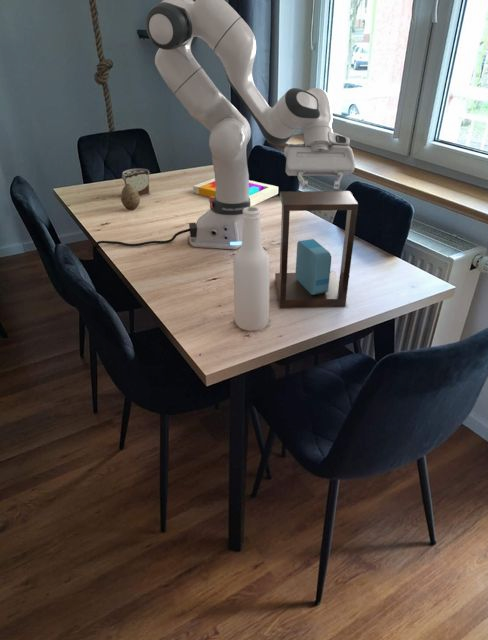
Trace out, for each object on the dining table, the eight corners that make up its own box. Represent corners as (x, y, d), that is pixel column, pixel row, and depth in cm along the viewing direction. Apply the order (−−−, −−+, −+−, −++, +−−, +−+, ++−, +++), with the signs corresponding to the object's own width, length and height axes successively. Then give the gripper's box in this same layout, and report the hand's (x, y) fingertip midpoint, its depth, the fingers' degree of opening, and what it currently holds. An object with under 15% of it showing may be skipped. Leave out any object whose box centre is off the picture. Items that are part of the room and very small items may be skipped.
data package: (328, 294, 133) (332, 254, 126) (313, 297, 132) (316, 256, 125) (308, 275, 142) (311, 237, 135) (294, 278, 141) (297, 239, 134)
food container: (144, 189, 212) (141, 166, 207) (152, 193, 209) (149, 169, 203) (119, 195, 206) (115, 171, 200) (127, 199, 202) (123, 175, 196)
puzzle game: (224, 181, 224) (179, 198, 204) (223, 174, 222) (179, 191, 202) (278, 193, 210) (236, 213, 190) (278, 186, 208) (236, 205, 188)
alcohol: (230, 329, 123) (227, 214, 105) (239, 312, 130) (237, 201, 112) (264, 333, 121) (266, 218, 104) (271, 315, 128) (274, 204, 111)
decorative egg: (118, 210, 192) (114, 184, 186) (132, 205, 197) (128, 180, 191) (131, 213, 189) (127, 187, 183) (144, 208, 193) (141, 183, 188)
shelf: (279, 308, 132) (283, 204, 115) (275, 280, 145) (277, 184, 128) (345, 306, 133) (358, 204, 116) (334, 279, 146) (345, 183, 129)
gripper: (284, 137, 139) (286, 182, 137) (354, 138, 141) (357, 182, 138) (282, 150, 146) (284, 193, 143) (349, 150, 147) (352, 193, 145)
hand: (320, 188), depth 141 cm, fingers open, 8 cm apart
